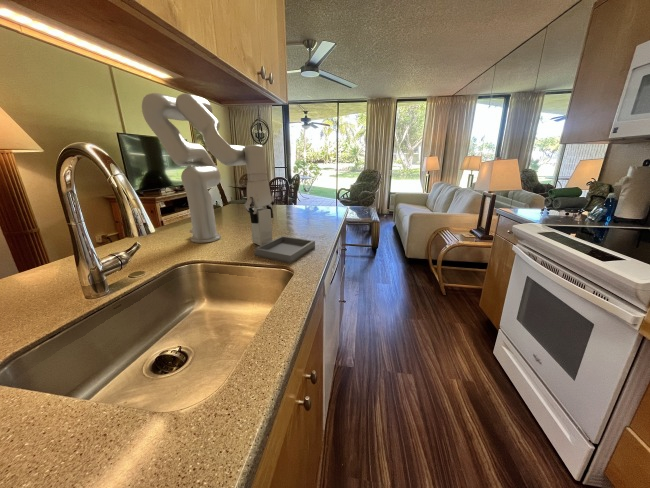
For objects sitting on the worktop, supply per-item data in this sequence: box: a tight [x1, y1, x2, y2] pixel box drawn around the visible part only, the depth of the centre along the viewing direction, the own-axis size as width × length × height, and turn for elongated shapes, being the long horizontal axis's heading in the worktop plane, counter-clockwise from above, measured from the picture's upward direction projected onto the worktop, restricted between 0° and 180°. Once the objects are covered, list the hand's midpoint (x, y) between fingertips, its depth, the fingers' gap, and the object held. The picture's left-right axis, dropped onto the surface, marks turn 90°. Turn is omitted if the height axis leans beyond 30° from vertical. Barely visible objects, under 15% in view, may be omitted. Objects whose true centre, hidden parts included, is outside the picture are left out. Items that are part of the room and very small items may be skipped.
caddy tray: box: [254, 235, 316, 265], centre depth 103 cm, size 16×18×3 cm
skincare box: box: [250, 207, 274, 246], centre depth 111 cm, size 8×6×15 cm
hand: (262, 220), depth 110 cm, fingers open, 9 cm apart
